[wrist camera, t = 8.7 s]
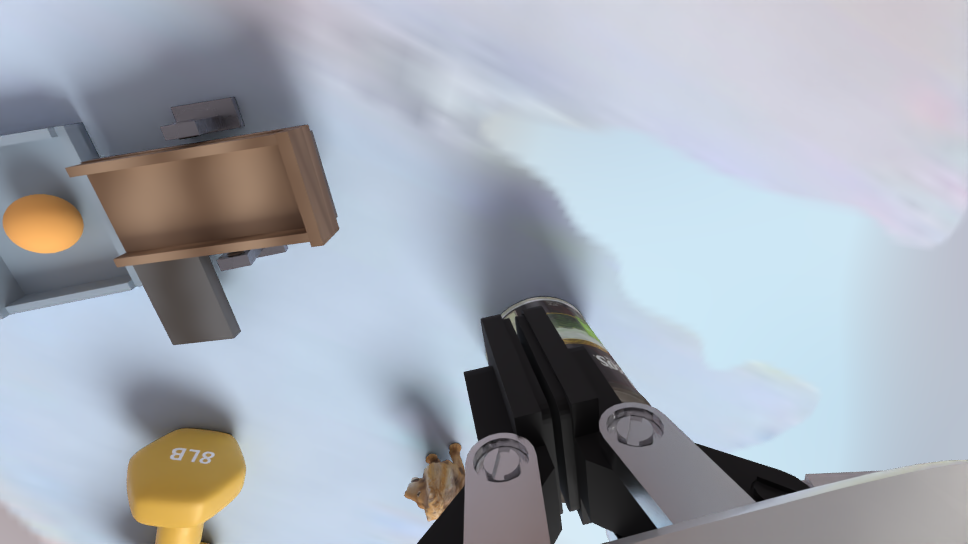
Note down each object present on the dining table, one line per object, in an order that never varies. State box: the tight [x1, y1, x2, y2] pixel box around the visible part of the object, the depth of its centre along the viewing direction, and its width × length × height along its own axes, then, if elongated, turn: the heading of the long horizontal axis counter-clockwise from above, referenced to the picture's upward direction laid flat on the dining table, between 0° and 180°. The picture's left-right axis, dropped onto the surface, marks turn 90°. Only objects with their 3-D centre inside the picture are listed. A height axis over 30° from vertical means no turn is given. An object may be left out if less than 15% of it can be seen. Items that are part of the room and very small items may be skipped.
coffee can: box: [486, 297, 651, 503], centre depth 39 cm, size 10×10×14 cm
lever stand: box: [160, 97, 288, 271], centre depth 33 cm, size 4×12×6 cm, turn 9°
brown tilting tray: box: [65, 125, 339, 345], centre depth 32 cm, size 15×14×4 cm
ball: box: [3, 194, 84, 253], centre depth 32 cm, size 4×4×4 cm
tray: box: [0, 123, 142, 319], centre depth 32 cm, size 10×12×3 cm
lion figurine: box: [404, 443, 465, 521], centre depth 46 cm, size 15×5×9 cm, turn 17°
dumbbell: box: [127, 428, 246, 544], centre depth 42 cm, size 19×9×8 cm, turn 161°
